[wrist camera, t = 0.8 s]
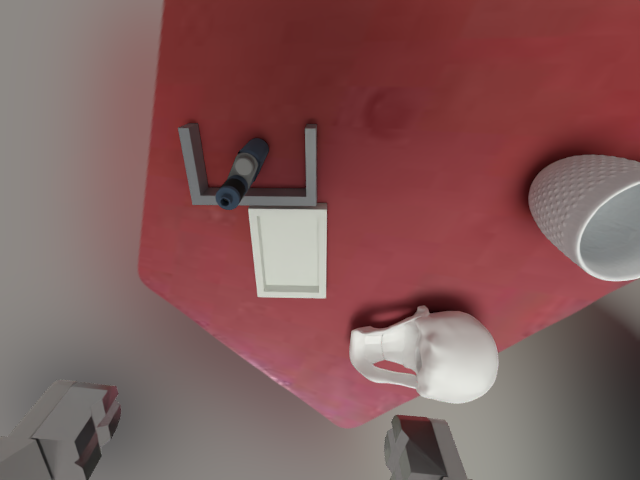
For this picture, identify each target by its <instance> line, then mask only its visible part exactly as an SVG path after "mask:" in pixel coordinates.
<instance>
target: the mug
mask: <svg viewBox="0 0 640 480" xmlns="http://www.w3.org/2000/svg"><path fill="white" fill-rule="evenodd" d="M528 199H529V206H530V211H531V214H532V216H533V218H534V221H535V222H536V223H537V226H538V227H539V228H540V230H541V232H542V233H543V234H544V235H545V236H546V238H547V239H549V240H550V241H551V242H552V244H554V245H555V246H556V247H557V248H558V249H559V250H560V251H562V252H563V253H564V254H565V255H566V256H567V257H569V258H570V259H571V260H572V261H573V262H574V263H576V264H577V265H578V266H580V267H581V268H582V269H583V270H584V271H585V272H587V273H588V274H590V275H592V276H594V277H596V278H599V279H602V280H607V281H627V280H633V279H637V278H640V163H639V162H637V161H634V160H628V159H625V158H618V157H615V156H605V155H594V154H592V155H581V156H573V157H567V158H564V159H561V160H558V161H556V162H554V163H552V164H550V165H548V166H547V167H545V168H544V169H543V170H542V171H540V172H539V173H538V175H537V176H536V177H535V179H534V180H533V182H532V184H531V187H530V191H529V197H528Z"/></svg>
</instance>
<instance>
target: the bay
mask: <svg viewBox="0 0 640 480" xmlns="http://www.w3.org/2000/svg"><path fill="white" fill-rule="evenodd" d="M178 131H179V136H180V141H181V147H182V152H183V157H184V162H185V167H186V173H187V178H188V183H189V188H190V194H191V199H192V204H193V205H218V204H217V202H216V198H215V196H216V193H217V191H218V190H219V189H220V188H208V182H207V176H206V170H205V163H204V157H203V151H202V145H201V139H200V133H199V127H198V123H188V124H186V125H183V126H181V127H179V128H178ZM305 153H306V189H304V188H249V189H248V191H247V193H246V194H245V195H244V197H243V198H242V200H241V201H240V203H239V204H238V205H261V206H316V204H317V124H307V125H306V127H305Z"/></svg>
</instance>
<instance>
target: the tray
mask: <svg viewBox="0 0 640 480" xmlns="http://www.w3.org/2000/svg"><path fill="white" fill-rule="evenodd" d="M248 212H249V221H250V230H251V239H252V248H253V258H254V267H255V276H256V285H257V294H258V297H282V298H326V255H327V203H317V204H316V206H261V205H250V206H249V208H248Z"/></svg>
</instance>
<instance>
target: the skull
mask: <svg viewBox="0 0 640 480" xmlns="http://www.w3.org/2000/svg"><path fill="white" fill-rule="evenodd" d="M381 342H382V344H381ZM382 352H383V353H382ZM349 355H350V361H351V363H352V364H353V366H354V367H355V368H356V369H357V370H358V371H359V372H360V373H361V374H362V375H363V376H365V377H366V378H367V379H369V380H371V381H373V382H377V383H392V384H397V385H403V386H407V387H411V388H414V389H416V390H417V392H418V393H419V394H420V395H421V396H422V397H425V398H431V399H435V400H438V401H443V402H447V403H455V404H458V403H466V402H470V401H472V400H475V399H476V398H479V397H481V396H482V395H484V394H485V393H486V392H487V391H488V390H489V389H490V388H491V386H492V385H493V384H494V382H495V379H496V376H497V371H498V365H499V361H498V352H497V347H496V344H495V341H494V339H493V337H492V335H491V334H490V332H489V331H488V330H487V329H486V328H485V326H484V325H483V324H482V323H481V322H479V321H478V320H477V319H476V318H474V317H473V316H472V315H470V314H468V313H464V312H461V311H443V312H437V313H429V310H428V308H426V306H425V305H423V306H419V307H418V308H417V311H416V313H415V314H414V315H413V316H411V317H408V318H406V319H404V320H402V321H400V322H398V323H396V324H394V325H391V326H389V327H386V328H373V327H372V326H367V327H361V328H356V329H354V330H352V331H351V338H350V347H349ZM383 356H384V357H383ZM383 360H388V361H392V362H396V363H399V364H403V366H404V367H406V368H410V369H412V370H414V371H415V372H416V375H417V376H416V375H413V374H408V373H399V372H393V371H389V370H386V369H381V368H378V367H376V366H374V365H373V364H374V363H376V362H379V361H383ZM416 381H418V383H417V382H416Z"/></svg>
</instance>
